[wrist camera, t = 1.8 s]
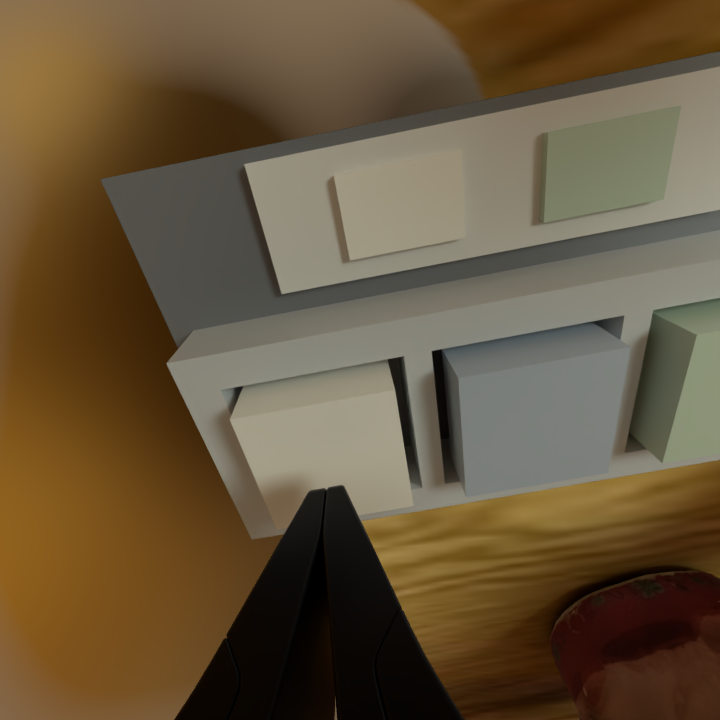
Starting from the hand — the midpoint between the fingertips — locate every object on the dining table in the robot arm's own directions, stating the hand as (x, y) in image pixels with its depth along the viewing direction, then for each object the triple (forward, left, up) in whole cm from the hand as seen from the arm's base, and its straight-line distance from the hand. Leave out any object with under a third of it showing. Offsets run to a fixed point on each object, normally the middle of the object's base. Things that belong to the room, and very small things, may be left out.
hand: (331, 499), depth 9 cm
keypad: (-5, -2, -5) cm, 8 cm away
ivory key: (0, 0, -3) cm, 3 cm away
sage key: (-11, 0, -3) cm, 11 cm away
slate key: (-5, 0, -3) cm, 6 cm away
